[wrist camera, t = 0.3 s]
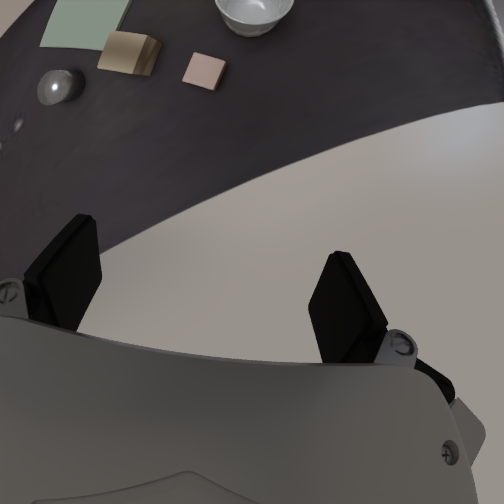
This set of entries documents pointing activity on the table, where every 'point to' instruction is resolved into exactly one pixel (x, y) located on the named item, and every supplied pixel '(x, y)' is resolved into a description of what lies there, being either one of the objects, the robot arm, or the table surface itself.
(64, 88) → the grey metal cylinder
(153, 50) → the maple block
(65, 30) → the sage plate
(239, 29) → the white cup
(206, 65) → the terracotta cube
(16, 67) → the table surface
